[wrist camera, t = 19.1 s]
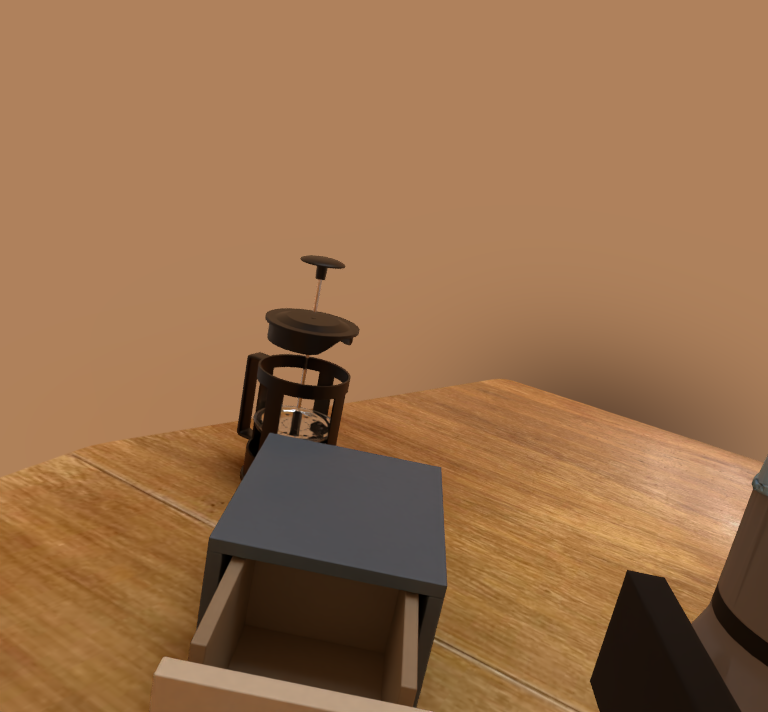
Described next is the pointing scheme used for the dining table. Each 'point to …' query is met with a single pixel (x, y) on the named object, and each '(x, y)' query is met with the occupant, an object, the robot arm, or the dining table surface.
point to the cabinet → (339, 523)
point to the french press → (309, 338)
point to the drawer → (295, 646)
